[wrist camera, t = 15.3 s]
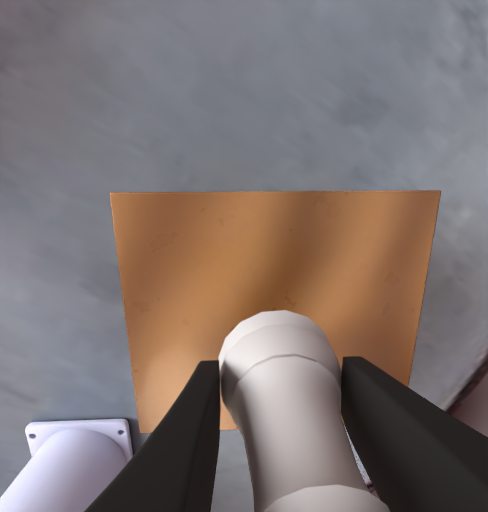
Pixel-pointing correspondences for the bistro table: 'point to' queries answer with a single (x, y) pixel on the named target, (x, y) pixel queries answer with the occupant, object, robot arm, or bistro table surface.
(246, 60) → the bistro table surface
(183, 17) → the bistro table surface
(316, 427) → the rook chess piece
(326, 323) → the lid
